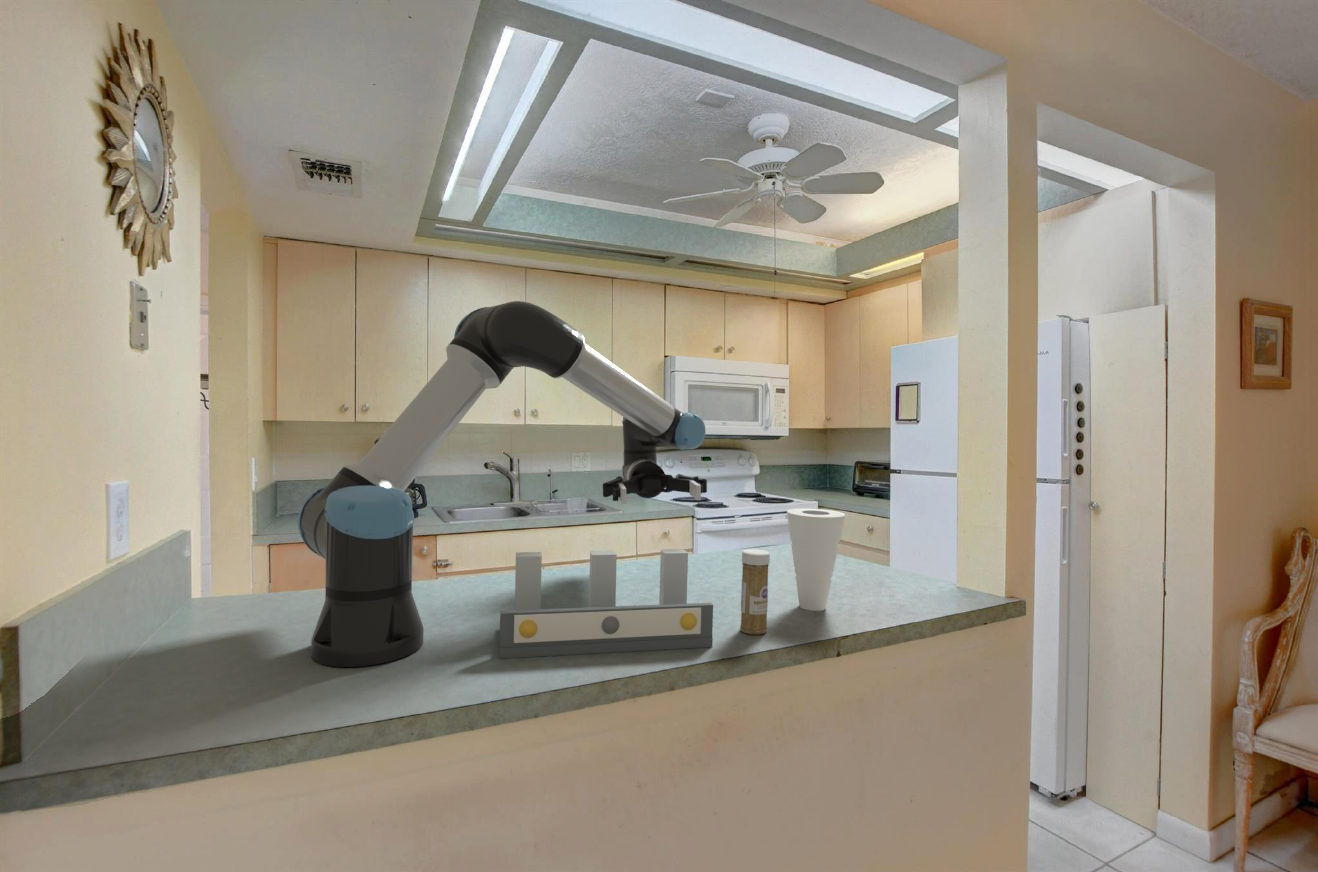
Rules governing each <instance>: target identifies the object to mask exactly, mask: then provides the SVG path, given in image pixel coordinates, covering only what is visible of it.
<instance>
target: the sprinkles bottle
mask: <svg viewBox="0 0 1318 872" xmlns="http://www.w3.org/2000/svg"><path fill="white" fill-rule="evenodd" d="M770 555H771V554H770V552H769V551H768V550H763V549H758V548H757V549H756V548H750V549H749V548H747V549H744V550H742V552H741V563H742V564H741V565H742V571H741V572H742V576H741V577H742V578H741V590H740V591H741V596H740V599H741V601H740V611H741V612H740V626H739V629H740V631H741V632H743V633H744V634H746V635H751V636H752V635H753V636H755V635H763V634H765V633H767V632H768V627H767V626H768V625H767V622H768V619H767V618H768V614H767V613H768V607H769V605H768V603H769V601H768V599H769V598H768V597H769V595H768V594H769V589H768V587H769V565H770V560H771V559H770Z"/></svg>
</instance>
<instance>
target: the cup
mask: <svg viewBox="0 0 1318 872" xmlns="http://www.w3.org/2000/svg"><path fill="white" fill-rule="evenodd" d="M786 514H787V523H788V529H789V537H790V541H791V553H792V560H793V567H794V573H795V581H796V591H797V597H798V598H797V599H798V605H799V608H801V609H803V610H805V611H809V612H810V611H812V612H822V611H824V610H825V611H826V607H827V604H828V603H827V602H828V597H829V594H830V589H831V584H832V583H831V582H832V577H833V573H834V570H835V569H834V568H835V566H836V565H835V564H836V559H837V555H838V551H839V544H840V541H841V537H842V532H843V526H844V522H845V518H846V514H845V512H844V513H843V512H841V511H838V510H831V509H821V508H803V507H802V508H790V509H788V510H786Z"/></svg>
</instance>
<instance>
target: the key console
mask: <svg viewBox="0 0 1318 872" xmlns="http://www.w3.org/2000/svg"><path fill="white" fill-rule="evenodd" d="M499 612H500V613H499V650H498V651H499V658H498V659H500V660H501V659H515V658H517V659H518V658H519V659H520V658H533V657H534V658H536V657H553V656H555V657H556V656H571V655H591V654H604V653H605V654H606V653H607V654H608V653H626V652H629V653H630V652H641V651H643V652H645V651H663V650H679V649H680V650H683V649H697V648H699V649H700V648H701V649H702V648H713V626H714V625H713V619H714V618H713V617H714V604H713V603H712V602H694V603H692V602H691V603H687V604H665V605H659V604H647V605H646V604H644V605H643V604H642V605H619V606H618V605H617V606H616V605H615V606H614V607H589V606H588V607H571V608H568V607H567V608H544V609H542V608H541V609H538V610H515V609H514V610H500V611H499Z"/></svg>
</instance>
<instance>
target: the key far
mask: <svg viewBox="0 0 1318 872" xmlns="http://www.w3.org/2000/svg"><path fill="white" fill-rule="evenodd" d="M659 565H660V566H659V567H660V568H659V570H660V571H659V598H658V599H659V600H658V601H659V603H658V605H665V604H688V600H687V599H688V570H689V566H688V565H689V552H688V551H686V550H685V549H683V548H677V549H670V548H669V549H660V563H659Z"/></svg>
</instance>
